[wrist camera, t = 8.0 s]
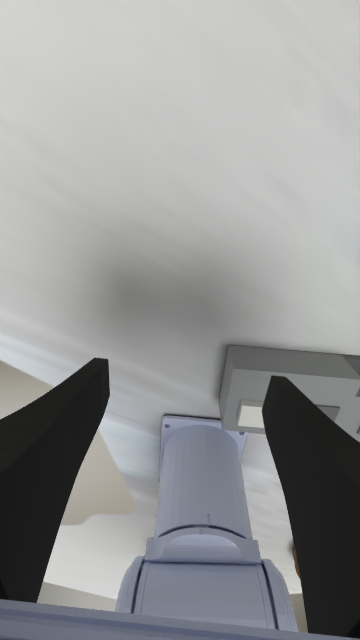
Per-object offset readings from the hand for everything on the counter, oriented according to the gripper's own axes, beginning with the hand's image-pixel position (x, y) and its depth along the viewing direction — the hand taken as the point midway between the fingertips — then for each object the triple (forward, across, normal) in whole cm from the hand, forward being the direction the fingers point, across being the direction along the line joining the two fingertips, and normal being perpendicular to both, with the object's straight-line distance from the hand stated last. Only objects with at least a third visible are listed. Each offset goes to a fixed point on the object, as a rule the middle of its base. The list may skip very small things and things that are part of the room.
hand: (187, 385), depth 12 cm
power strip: (+9, -18, +6) cm, 21 cm away
